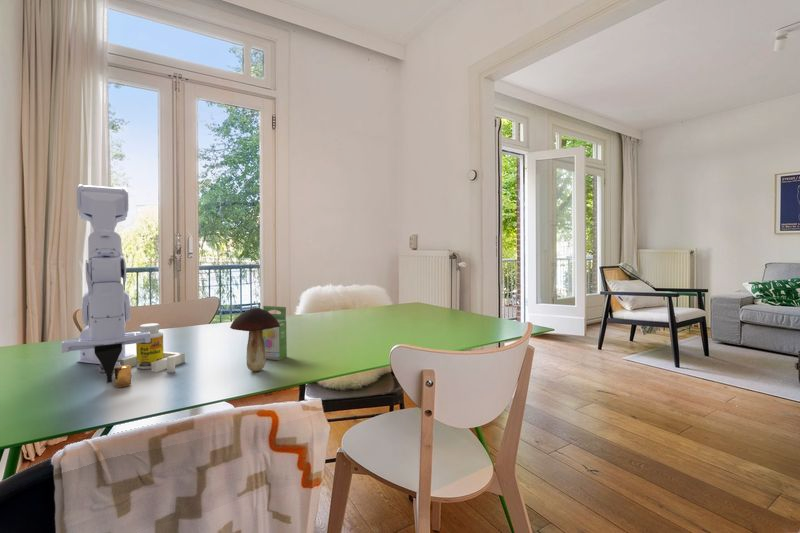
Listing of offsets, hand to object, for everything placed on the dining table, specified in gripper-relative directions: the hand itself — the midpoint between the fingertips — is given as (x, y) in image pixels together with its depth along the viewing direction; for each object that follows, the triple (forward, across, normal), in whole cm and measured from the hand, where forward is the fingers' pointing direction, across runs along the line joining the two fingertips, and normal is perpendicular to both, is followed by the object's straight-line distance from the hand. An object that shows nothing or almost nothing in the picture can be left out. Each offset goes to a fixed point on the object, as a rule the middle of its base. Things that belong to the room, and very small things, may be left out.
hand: (109, 381), depth 82 cm
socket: (+1, +8, +13) cm, 15 cm away
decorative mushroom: (+2, +28, -6) cm, 28 cm away
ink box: (+2, +34, +3) cm, 35 cm away
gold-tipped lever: (+1, +1, +7) cm, 7 cm away
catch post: (+1, +12, +5) cm, 13 cm away
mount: (+1, 0, +14) cm, 14 cm away
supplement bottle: (+2, +8, +13) cm, 15 cm away
